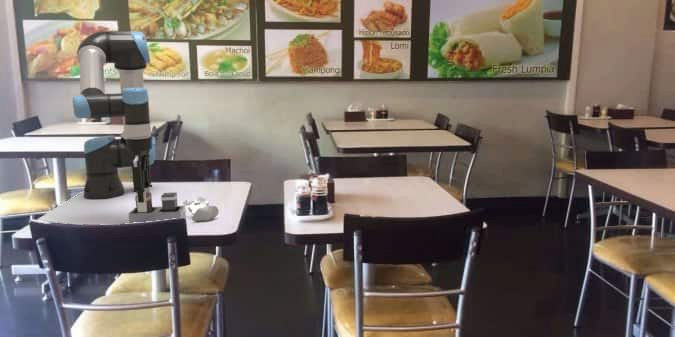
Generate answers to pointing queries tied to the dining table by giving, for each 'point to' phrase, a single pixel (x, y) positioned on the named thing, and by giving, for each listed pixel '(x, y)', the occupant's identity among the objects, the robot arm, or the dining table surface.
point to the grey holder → (160, 210)
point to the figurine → (201, 210)
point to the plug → (149, 203)
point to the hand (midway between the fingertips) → (144, 209)
